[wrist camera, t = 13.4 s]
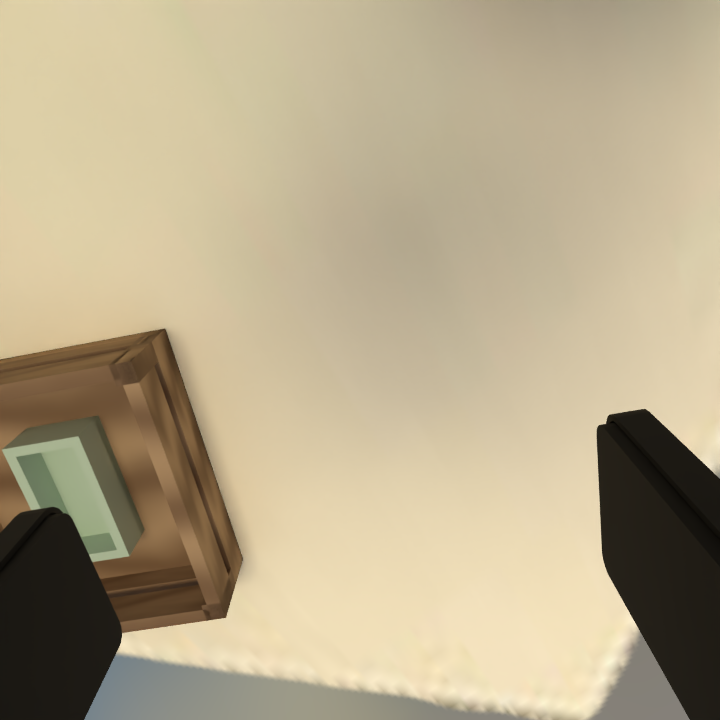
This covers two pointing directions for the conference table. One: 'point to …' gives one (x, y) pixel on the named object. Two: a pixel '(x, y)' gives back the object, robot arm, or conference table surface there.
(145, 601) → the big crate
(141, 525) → the box
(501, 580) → the conference table surface
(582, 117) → the conference table surface
